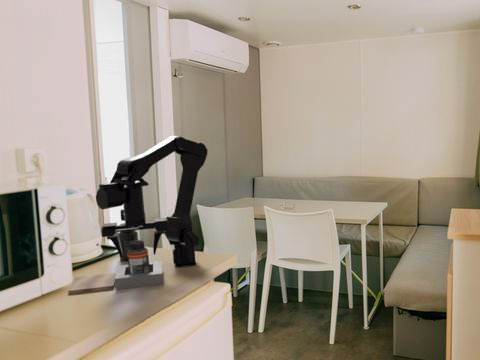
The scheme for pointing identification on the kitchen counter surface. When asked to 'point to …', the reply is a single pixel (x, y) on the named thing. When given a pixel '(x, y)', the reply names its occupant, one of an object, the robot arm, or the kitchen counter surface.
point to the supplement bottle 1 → (127, 241)
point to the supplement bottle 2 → (138, 258)
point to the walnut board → (92, 283)
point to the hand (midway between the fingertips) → (138, 256)
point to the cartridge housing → (138, 276)
